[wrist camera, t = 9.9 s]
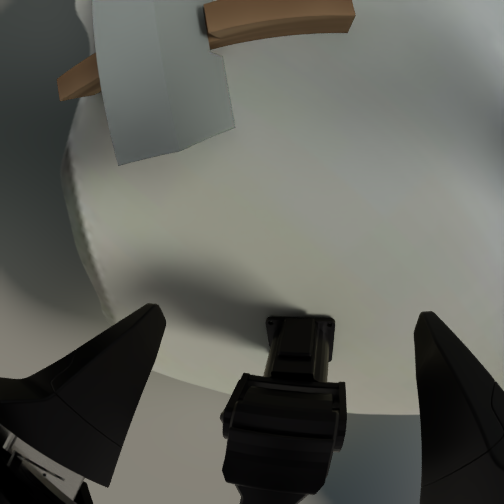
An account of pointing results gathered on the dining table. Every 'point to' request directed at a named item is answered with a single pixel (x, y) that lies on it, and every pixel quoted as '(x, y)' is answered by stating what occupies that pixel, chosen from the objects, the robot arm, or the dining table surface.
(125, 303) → the dining table surface
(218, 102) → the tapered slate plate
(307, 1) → the slotted walnut board
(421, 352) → the robot arm
